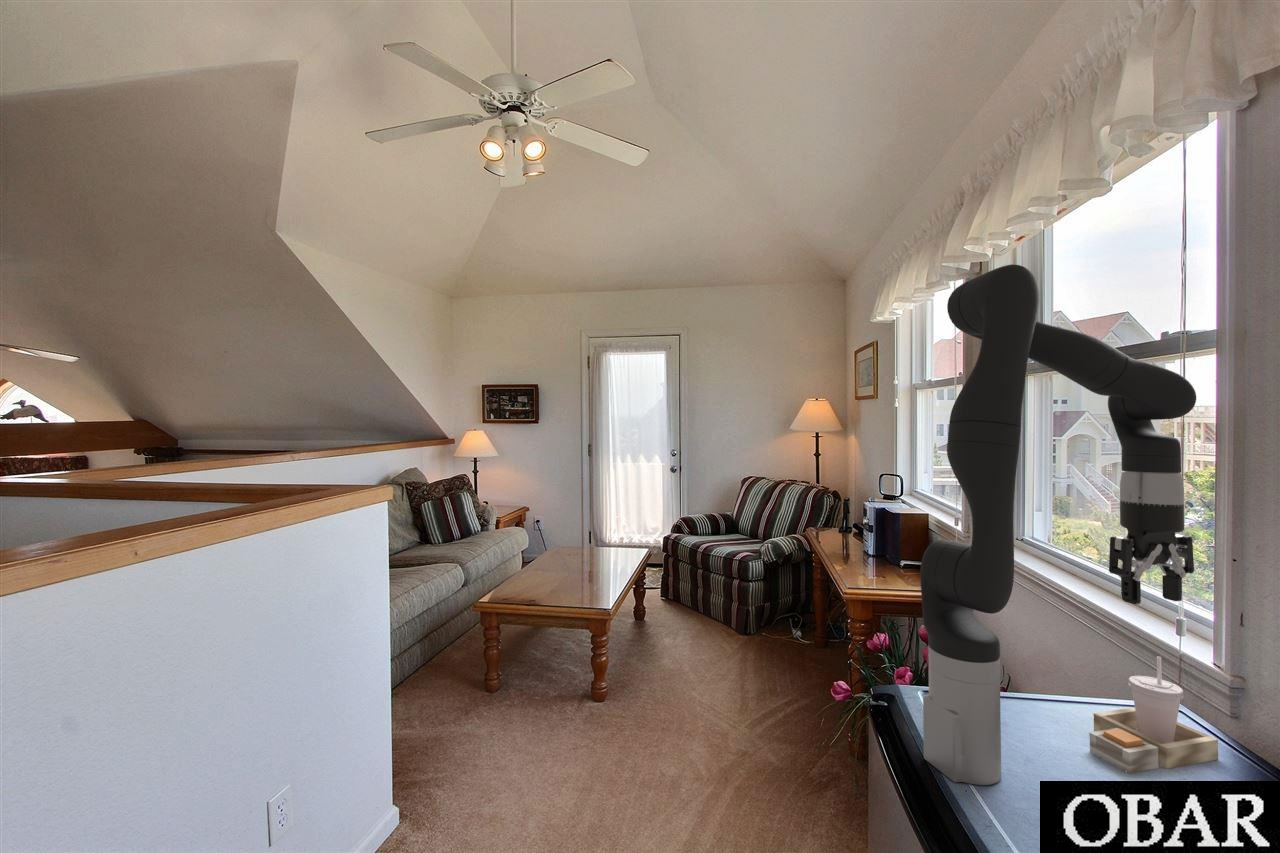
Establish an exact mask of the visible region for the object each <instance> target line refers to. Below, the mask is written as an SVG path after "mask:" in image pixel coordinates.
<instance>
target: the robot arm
mask: <svg viewBox="0 0 1280 853" xmlns="http://www.w3.org/2000/svg"><path fill="white" fill-rule="evenodd" d="M1039 288H1040V287H1039V285H1038V282H1037V280H1036V278H1035V276H1034V274H1033V273H1032V272H1031V270H1029V269H1028V268H1026V267H1025V266H1023V265H1020V264H1006V265H1002V266H999V267H997V268H994V269H991V270H990V271H987V272H985V273H983V274H981V275H978V276H976V277H974V278H971V279H969V280H967V281H964V283H962V284H960V285H959V286H957V287H956V288H955V289H954V290H953V291H952V292H951V294H950V296H949V297H948V300H947V306H946V307H947V315H948V317H949V319H950V321H951V323H952V324H953V325H954V327H955V328H957V329H958V330H960V331H961V332H962V333H964V334H966V335H969V336H972V337H974V338H976V339H979V340H981V344H980V349H979V354H978V357H977V360H976V362H975V364H974V367H973V369H972V370H971V373H970V374H969V376H968V377H967V379H966V381H965V383H964V385H963V387H962V389H961V390H960V392H959V394H958V396H957V398H956V399H955V402H954V404H953V406H952V409H951V411H950V414H949V424H948V434H947V443H946V455H947V459H948V463H949V466H950V468H951V470H952V472H953V475H954V476H955V478H956V480H957V482H958V484H959V486H960V487H961V488H960V489H962V491H963V493H964V496H965V497H966V500H967V503H968V506H969V509H970V515H971V524H972V530H971V531H972V532H971V534H972V536H971V543H968V542H967V543H966V542H962V541H961V542H960V541H956V540H950V539H939V540H938V539H937V540H935V541H933V542H932V543H930V544H929V545H928V546H927V547H926V550H925V551H924V553H923V556H922V559H921V564H920V576H919V577H920V579H919V581H920V592H921V594H920V595H921V605H922V606H921V610H922V621H923V627H924V629H925V631H926V634H927V636H928V644H927V645H928V648H927V649H928V695H924V696H923V699H922V701H923V702H922V705H923V709H922V710H923V711H922V712H923V715H922V716H923V718H922V721H923V759H924V760H926V761H927V762H928V763H930V765H932V767H935V768H936V769H937V770H939V771H940V772H941V774H943V775H944V776H946V777H947V778H948V779H949V780H950V781H952V782H954V783H962V782H963V783H965V784H966V783H967V784H971V785H977V786H988V785H989V786H990V785H995V784H997V783H998V782H999V781H1001V779H1002V731H1001V730H1002V729H1001V728H1002V727H1001V726H1002V725H1001V724H1002V723H1001V722H1002V721H1001V654H1000V653H1001V647H1000V646H1001V644H1000V640H999V638H998V636H997V635H996V634H995V632H993V630H991V629H990V628H988V627H987V626H986V625H984V624H983V623H982V622H981V621H980V620H979V619H978V618H977V617H976V616H975V615H974V613H973V612H972V611H971V610H974V611H978V612H981V613H984V614H990V615H991V614H997V613H1000V612H1001V611H1002V610H1003V609H1005V607H1006V606H1007V605H1008V602H1010V599H1011V596H1012V592H1013V588H1014V580H1015V578H1014V577H1015V544H1014V541H1015V540H1014V532H1015V531H1014V504H1015V503H1014V502H1015V492H1016V491H1015V489H1016V479H1017V478H1016V476H1017V468H1018V458H1019V452H1020V444H1021V434H1022V433H1021V432H1022V429H1021V428H1022V415H1023V413H1022V410H1023V401H1024V393H1025V392H1024V391H1025V384H1026V377H1027V376H1026V375H1027V367H1028V362H1029V359H1030V360H1032V361H1034V362H1037V363H1039V364H1041V365H1043V366H1045V367H1047V368H1050V369H1051V370H1053V371H1055V372H1057V373H1058V374H1060V375H1062V376H1064V377H1066V378H1068V379H1069V380H1071V381H1073V382H1074V383H1076V384H1078V385H1080V386H1081V387H1082V388H1084V389H1086V390H1088V391H1090V392H1091V393H1094V394H1097V395H1098V396H1099V395H1100V396H1104V397H1105V396H1107V407H1108V412H1109V415H1110V419H1111V421H1112V424H1113V427H1114V430H1115V433H1116V435H1117V436H1116V437H1117V438H1118V441H1119V444H1120V446H1121V447H1120V448H1121V452H1120V453H1121V475H1120V481H1119V524H1120V526H1121V527H1122V528H1124V529H1126V530H1127V534H1126V537H1122V536H1115V535H1112V536H1110V539H1109V558H1108V559H1109V560H1108V572H1109V573H1110V574H1113V575H1116V576H1118V577H1119V578H1120V581H1121V582H1120V583H1121V585H1120V588H1121V590H1120V591H1121V594H1120V595H1121V599H1122V600H1123V601H1124V602H1126V603H1128V604H1132V605H1139V604H1141V602H1142V600H1141V599H1142V597H1141V596H1142V595H1141V594H1142V593H1141V589H1142V588H1141V584H1142V583H1141V580H1140V579H1141V578H1142V576H1143V574H1144V572H1145V571H1148V570H1150V568H1151V567H1152V566H1153V565H1154V566H1155V565H1158V566H1159V569H1160V571H1162V573H1163V575H1162V582H1161V583H1162V597H1163V598H1164V599H1165V600H1169V601H1172V602H1181V601H1182V600H1183V579H1184V578H1186V576H1187V574H1192V575H1193V573H1194V572H1195V561H1194V545H1193V543H1194V542H1193V538H1192V536H1189V535H1183V534H1182V535H1181V534H1179V533H1182V532H1184V530H1185V502H1184V501H1185V495H1184V494H1185V493H1184V492H1185V490H1184V489H1185V488H1184V483H1183V477H1182V476H1183V475H1182V449H1181V442H1180V440H1179V439H1178V438H1176V437H1173V436H1171V435H1167V434H1163V433H1162V434H1161V433H1159V432H1158V431H1156V429H1155V427H1154V425H1153V423H1152V420H1155V421H1157V420H1173V419H1178V418H1181V417H1184V416H1186V415H1187V414H1189V413H1190V412H1191V411H1192V410H1193V409H1194V407H1195V406H1196V402H1197V392H1196V389H1195V388H1194V386H1193V385H1192V383H1191V382H1190V381H1189V380H1188V379H1187V378H1186V377H1184V376H1182V375H1180V374H1179V373H1177V372H1175V371H1172V370H1170V369H1168V368H1164V367H1162V366H1158V365H1155V364H1152V363H1149V362H1146V361H1143V360H1139V359H1135V358H1132V357H1130V356H1128V355H1127V354H1125V353H1123V352H1122V351H1120V349H1119V350H1118V349H1117V348H1115V347H1113V346H1112V345H1110V344H1109V343H1107V342H1105V341H1103V340H1101V339H1099V338H1097V337H1095V336H1092V335H1089V334H1086V333H1083V332H1080V331H1076V330H1073V329H1068V328H1065V327H1058V326H1055V325H1051V324H1047V323H1044V322H1041V321H1037V318H1038V312H1039V307H1040V290H1039ZM1133 558H1134V559H1133ZM1181 558H1183V559H1184V564H1183V561H1182V559H1181ZM1119 561H1121V562H1122V564H1121V566H1119ZM1132 568H1134V569H1132ZM1132 570H1133V571H1132Z"/></svg>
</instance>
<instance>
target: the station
mask: <svg viewBox="0 0 1280 853" xmlns="http://www.w3.org/2000/svg"><path fill="white" fill-rule="evenodd" d="M1114 729H1122V730H1124V731H1126V732H1128V733H1130V734H1132V735H1134V736H1136V737H1138V738H1140V739H1142V740H1143V746H1139V747H1133V748H1125V747H1123V746H1121V745H1119V744H1117V743H1115V742H1114V741H1112V740H1110V739H1108V738H1106V737H1104V731H1108V730H1114ZM1137 730H1138V731H1137ZM1089 753H1092V754H1094V755H1095V756H1097V757H1098V758H1100V759H1102V760H1104V761H1105V762H1108V763H1110V764H1112V765H1113V766H1115V767H1117V768H1119V769H1121V770H1122V769H1123V770H1122V771H1124V770H1125V772H1126V771H1127V772H1126V773H1129V774H1133V773H1139V772H1145V771H1150V770H1155V769H1159V766H1160V767H1162V768H1164V769H1167V770H1168V769H1173V768H1179V767H1183V766H1184V767H1185V766H1190V765H1195V764H1200V763H1206V762H1211V761H1217V760H1219V739H1218V738H1215V737H1213V736H1211V735H1208V734H1206V733H1204V732H1202V731H1199V730H1198V729H1194V728H1192V727H1190V726H1188V725H1186V724H1183V723H1182V722H1179V721H1177V724H1176V730H1175V736H1174V742H1171V743H1165V744H1163V743H1161V742H1159V741H1157V740H1155V739H1153V738H1150V737H1148V736H1146V735H1144V734H1142V733H1140V732H1139V729H1138V723H1137V717H1136V711H1135V706H1134V707H1128V708H1121V709H1116V710H1108V711H1101V712H1094V713H1093V731H1090V732H1089Z"/></svg>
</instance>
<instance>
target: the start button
mask: <svg viewBox="0 0 1280 853" xmlns="http://www.w3.org/2000/svg"><path fill="white" fill-rule="evenodd" d="M1104 737H1106V738H1108V739H1110V740H1112V741H1114V742H1115V743H1117V744H1119V745H1121V746H1123V747H1125V748H1133V747H1139V746H1143V740H1142V739H1140V738H1138V737H1136V736H1134V735H1132V734H1130V733H1128V732H1126V731H1124V730H1122V729H1114V730H1108V731H1104Z"/></svg>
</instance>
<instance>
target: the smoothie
mask: <svg viewBox="0 0 1280 853" xmlns="http://www.w3.org/2000/svg"><path fill="white" fill-rule="evenodd" d="M1162 669H1163V668H1162V657H1161V656H1158V655H1157V656H1156V677H1152V676H1148V675H1147V676H1145V675H1132V676H1130V677H1129V678H1128V686H1129V687H1130V688H1131V690H1132V691H1131V692H1132V697H1133V698H1132V699H1133V703H1134V707H1135V711H1136V717H1137V723H1138V729H1137V730H1138V732H1140V733H1142V734H1144V735H1146V736H1148V737H1150V738H1153V739H1155V740H1157V741H1159V742H1161V743H1163V744H1165V743H1171V742H1174V736H1175V730H1176V724H1177V722H1178V719H1179V718H1178V716H1179V710H1180V703H1181V699H1184V698H1185V697H1184V690H1183V688H1181V687H1180V686H1179V685H1178V684H1174V683H1172V682H1171V681H1167V680H1164V679H1162V676H1163V674H1162Z"/></svg>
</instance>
